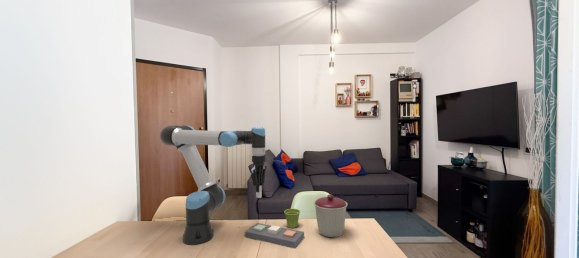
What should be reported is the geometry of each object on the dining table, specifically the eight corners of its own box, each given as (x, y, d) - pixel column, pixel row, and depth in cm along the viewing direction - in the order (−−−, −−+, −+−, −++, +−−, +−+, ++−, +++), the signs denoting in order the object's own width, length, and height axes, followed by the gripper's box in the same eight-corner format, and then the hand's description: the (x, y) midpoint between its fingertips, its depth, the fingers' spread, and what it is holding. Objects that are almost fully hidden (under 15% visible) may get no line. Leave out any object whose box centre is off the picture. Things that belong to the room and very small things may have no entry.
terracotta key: (283, 239, 120) (283, 233, 120) (287, 235, 125) (287, 229, 125) (292, 241, 118) (292, 235, 118) (296, 236, 123) (296, 231, 123)
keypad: (245, 237, 126) (245, 231, 126) (257, 228, 137) (257, 222, 137) (295, 248, 114) (294, 242, 114) (304, 237, 124) (304, 231, 124)
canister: (343, 225, 138) (342, 189, 138) (352, 240, 120) (351, 199, 120) (312, 226, 138) (311, 190, 138) (316, 241, 120) (316, 200, 120)
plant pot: (299, 230, 133) (298, 214, 133) (282, 228, 135) (282, 213, 135) (301, 223, 142) (301, 209, 142) (286, 222, 144) (286, 208, 144)
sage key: (253, 233, 128) (253, 227, 128) (258, 229, 132) (258, 224, 132) (261, 234, 126) (261, 229, 126) (266, 230, 130) (266, 225, 130)
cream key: (267, 234, 124) (267, 228, 124) (272, 230, 128) (272, 225, 128) (276, 236, 122) (276, 230, 122) (280, 232, 126) (280, 226, 126)
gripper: (257, 156, 124) (257, 201, 124) (270, 154, 135) (270, 195, 136) (245, 156, 127) (246, 199, 127) (259, 153, 139) (259, 193, 139)
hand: (258, 197), depth 132 cm, fingers closed
